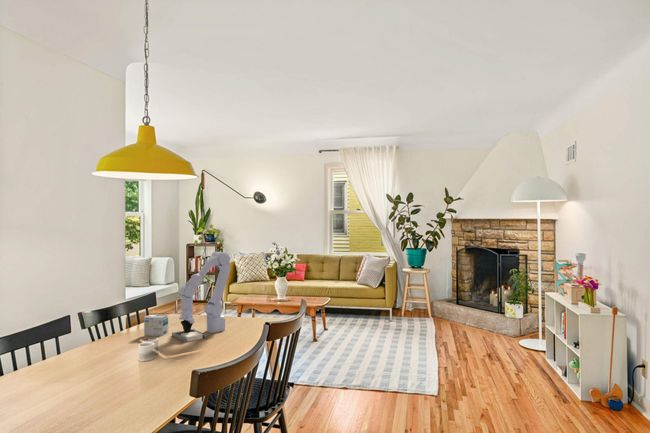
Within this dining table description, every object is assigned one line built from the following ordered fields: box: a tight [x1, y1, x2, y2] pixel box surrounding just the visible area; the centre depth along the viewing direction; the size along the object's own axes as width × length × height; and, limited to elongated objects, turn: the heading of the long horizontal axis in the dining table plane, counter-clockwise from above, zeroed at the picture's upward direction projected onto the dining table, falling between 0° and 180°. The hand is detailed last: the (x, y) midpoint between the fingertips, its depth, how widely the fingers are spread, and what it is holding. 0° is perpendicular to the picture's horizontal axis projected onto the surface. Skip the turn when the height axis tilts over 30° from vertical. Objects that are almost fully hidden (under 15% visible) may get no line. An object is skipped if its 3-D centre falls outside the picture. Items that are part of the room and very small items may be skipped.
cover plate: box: [181, 330, 204, 343], centre depth 224 cm, size 8×8×2 cm
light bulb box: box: [143, 314, 169, 337], centre depth 233 cm, size 11×7×11 cm, turn 84°
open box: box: [171, 328, 208, 344], centre depth 226 cm, size 12×17×2 cm
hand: (187, 334), depth 229 cm, fingers closed
